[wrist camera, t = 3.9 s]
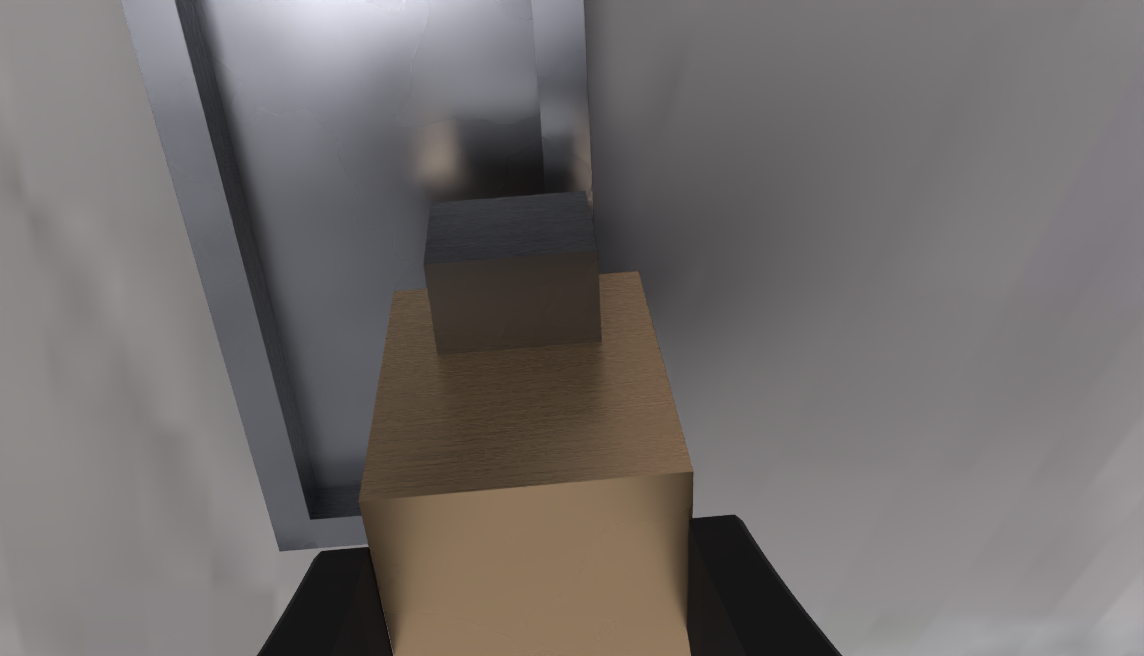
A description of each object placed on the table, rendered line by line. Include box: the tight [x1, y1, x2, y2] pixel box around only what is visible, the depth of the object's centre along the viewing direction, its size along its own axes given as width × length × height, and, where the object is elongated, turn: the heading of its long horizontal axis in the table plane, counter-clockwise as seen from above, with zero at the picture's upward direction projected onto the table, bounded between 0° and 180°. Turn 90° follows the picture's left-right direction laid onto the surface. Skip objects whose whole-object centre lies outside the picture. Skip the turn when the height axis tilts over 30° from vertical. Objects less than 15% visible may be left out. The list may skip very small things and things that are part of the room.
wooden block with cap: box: [358, 191, 693, 656], centre depth 14 cm, size 4×6×5 cm
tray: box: [120, 0, 594, 551], centre depth 16 cm, size 7×20×2 cm, turn 3°
